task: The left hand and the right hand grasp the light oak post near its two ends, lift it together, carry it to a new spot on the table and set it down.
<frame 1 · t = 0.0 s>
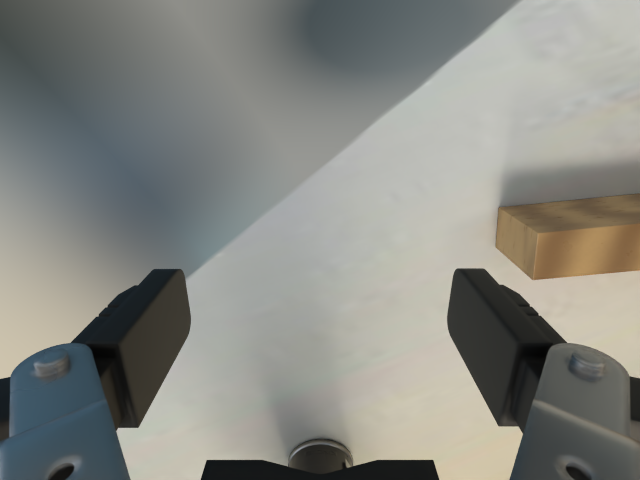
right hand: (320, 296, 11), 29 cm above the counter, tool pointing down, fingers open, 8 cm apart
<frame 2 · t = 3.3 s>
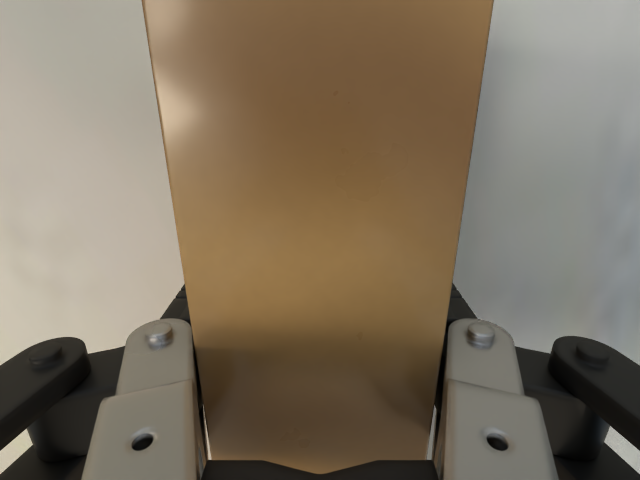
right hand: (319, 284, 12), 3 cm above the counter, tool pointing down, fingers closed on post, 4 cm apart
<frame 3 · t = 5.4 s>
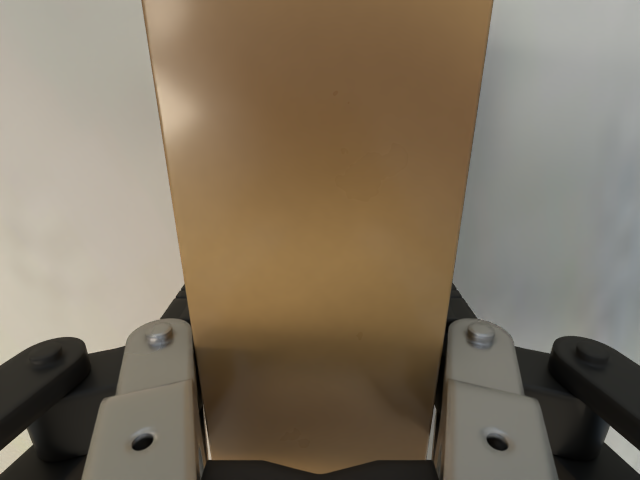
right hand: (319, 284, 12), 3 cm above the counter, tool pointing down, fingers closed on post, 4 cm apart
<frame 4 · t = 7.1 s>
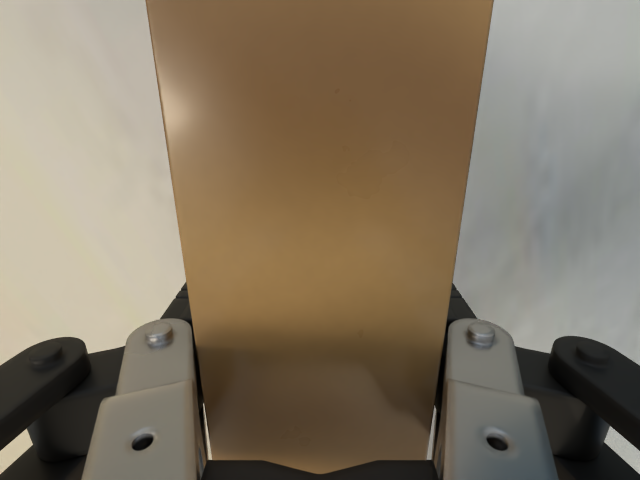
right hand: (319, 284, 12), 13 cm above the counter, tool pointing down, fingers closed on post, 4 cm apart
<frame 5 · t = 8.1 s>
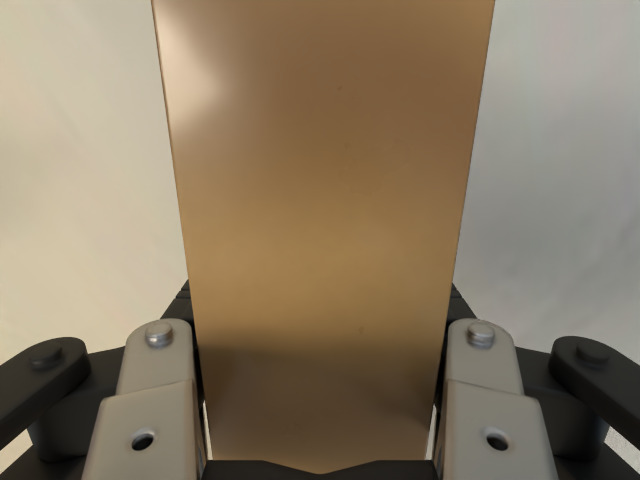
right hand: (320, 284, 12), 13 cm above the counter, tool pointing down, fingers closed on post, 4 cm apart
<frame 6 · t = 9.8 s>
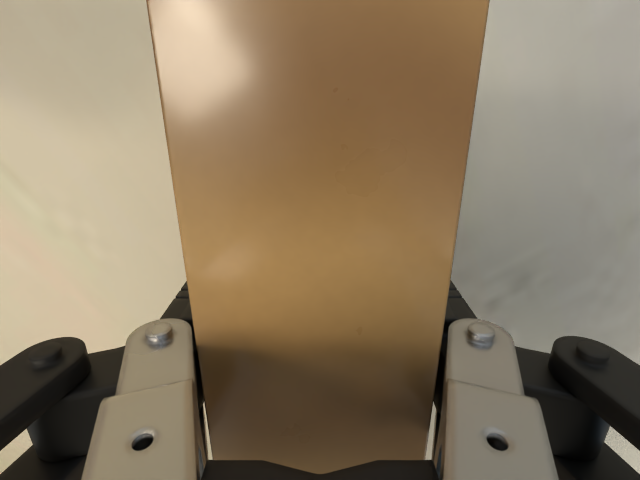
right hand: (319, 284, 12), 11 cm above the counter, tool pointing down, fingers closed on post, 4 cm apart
when the left hand's fingers open (2 cm above the counter, at t = 10.9 s): post moves 1 cm, on the counter.
when the right hand's fingers open (4 cm above the counter, at t = 11.1 s): post stays where it is, on the counter.
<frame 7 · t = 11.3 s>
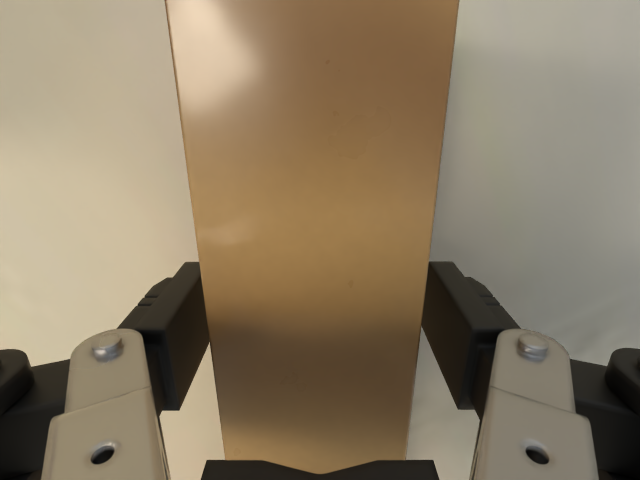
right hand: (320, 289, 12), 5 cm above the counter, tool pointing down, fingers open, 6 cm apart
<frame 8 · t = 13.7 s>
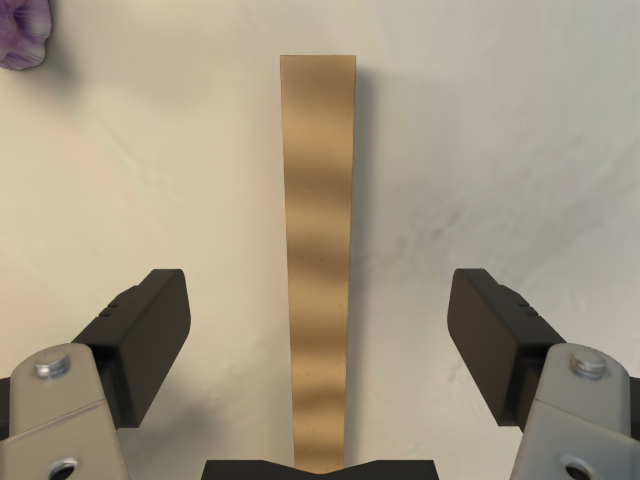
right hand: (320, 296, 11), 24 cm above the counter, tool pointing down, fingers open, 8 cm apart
post: (319, 390, 43), on the counter
figurine: (9, 7, 29), on the counter
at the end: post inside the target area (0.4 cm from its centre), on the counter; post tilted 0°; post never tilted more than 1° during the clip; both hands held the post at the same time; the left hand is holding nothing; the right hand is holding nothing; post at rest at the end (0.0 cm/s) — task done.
